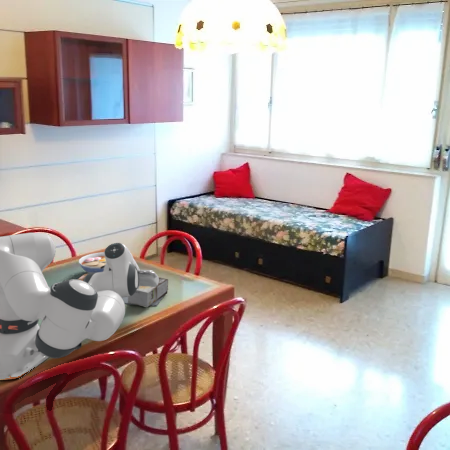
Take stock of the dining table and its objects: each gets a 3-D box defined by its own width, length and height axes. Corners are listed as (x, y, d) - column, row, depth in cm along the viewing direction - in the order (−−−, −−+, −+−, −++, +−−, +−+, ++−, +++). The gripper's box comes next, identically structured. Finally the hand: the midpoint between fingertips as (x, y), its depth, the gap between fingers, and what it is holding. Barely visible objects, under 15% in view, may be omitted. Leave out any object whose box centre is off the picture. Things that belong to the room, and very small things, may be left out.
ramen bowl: (97, 263, 251) (97, 247, 249) (140, 268, 244) (139, 252, 242) (67, 280, 228) (66, 263, 226) (113, 286, 221) (112, 268, 219)
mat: (156, 306, 201) (156, 304, 201) (117, 303, 203) (117, 302, 203) (168, 289, 218) (168, 288, 218) (131, 287, 221) (131, 286, 220)
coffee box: (147, 308, 198) (168, 293, 213) (147, 292, 197) (169, 279, 211) (127, 302, 202) (149, 288, 216) (127, 287, 200) (149, 274, 214)
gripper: (156, 264, 187) (163, 280, 199) (102, 261, 190) (112, 277, 202) (152, 280, 184) (160, 295, 196) (98, 277, 187) (109, 292, 199)
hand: (136, 286), depth 199 cm, fingers closed
